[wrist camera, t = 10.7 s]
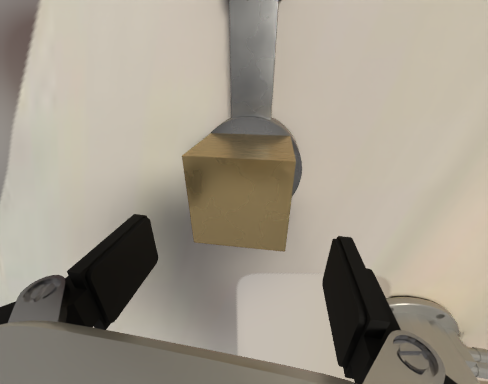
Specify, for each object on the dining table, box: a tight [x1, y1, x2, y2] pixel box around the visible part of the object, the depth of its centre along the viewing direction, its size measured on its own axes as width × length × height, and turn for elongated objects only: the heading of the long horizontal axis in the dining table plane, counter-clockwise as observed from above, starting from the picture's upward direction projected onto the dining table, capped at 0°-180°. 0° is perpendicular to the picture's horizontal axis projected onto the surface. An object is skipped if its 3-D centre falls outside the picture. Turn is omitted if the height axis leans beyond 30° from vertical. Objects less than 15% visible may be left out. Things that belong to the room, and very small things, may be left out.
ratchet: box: [210, 0, 302, 196], centre depth 14 cm, size 9×26×6 cm, turn 0°
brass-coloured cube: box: [182, 133, 296, 252], centre depth 16 cm, size 6×6×6 cm
